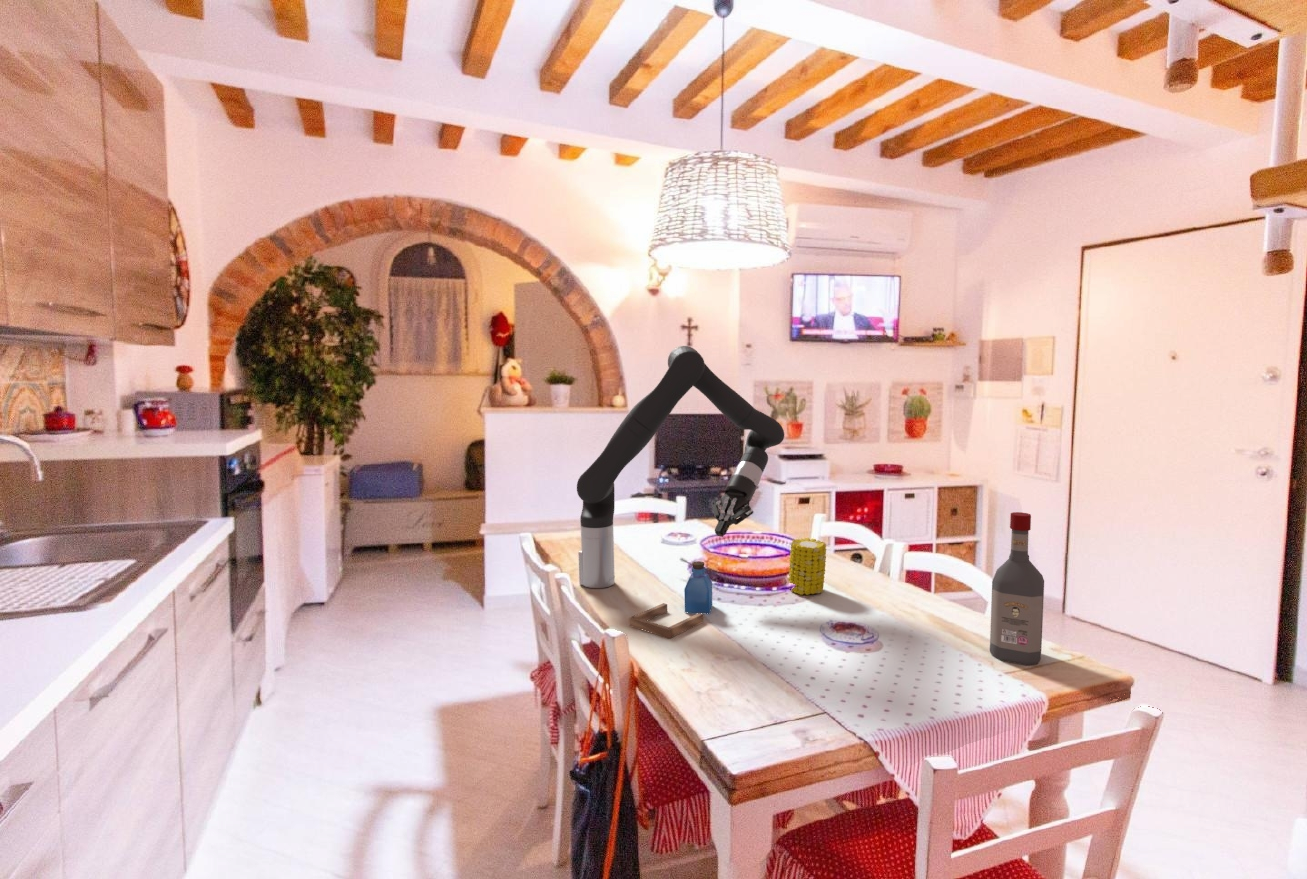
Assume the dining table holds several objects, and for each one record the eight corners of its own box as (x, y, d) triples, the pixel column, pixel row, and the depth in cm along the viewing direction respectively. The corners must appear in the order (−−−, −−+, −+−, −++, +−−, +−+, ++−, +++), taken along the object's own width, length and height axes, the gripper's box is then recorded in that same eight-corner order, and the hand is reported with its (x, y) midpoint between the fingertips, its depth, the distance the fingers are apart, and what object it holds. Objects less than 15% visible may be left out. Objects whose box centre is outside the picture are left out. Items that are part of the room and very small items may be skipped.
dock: (663, 610, 172) (663, 603, 171) (703, 622, 164) (703, 614, 163) (629, 626, 162) (629, 617, 162) (669, 638, 154) (669, 630, 154)
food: (811, 589, 191) (828, 602, 181) (773, 584, 188) (789, 597, 178) (824, 537, 189) (842, 548, 180) (786, 531, 186) (802, 541, 177)
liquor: (1039, 668, 136) (1045, 520, 132) (988, 659, 140) (993, 516, 137) (1041, 652, 143) (1047, 512, 140) (993, 643, 148) (998, 508, 145)
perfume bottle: (709, 614, 169) (708, 567, 168) (684, 612, 170) (684, 566, 169) (712, 605, 175) (711, 560, 174) (688, 604, 176) (687, 559, 175)
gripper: (718, 471, 187) (692, 523, 179) (759, 475, 179) (734, 530, 171) (729, 487, 192) (704, 539, 184) (770, 492, 183) (745, 546, 175)
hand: (718, 534), depth 177 cm, fingers closed
